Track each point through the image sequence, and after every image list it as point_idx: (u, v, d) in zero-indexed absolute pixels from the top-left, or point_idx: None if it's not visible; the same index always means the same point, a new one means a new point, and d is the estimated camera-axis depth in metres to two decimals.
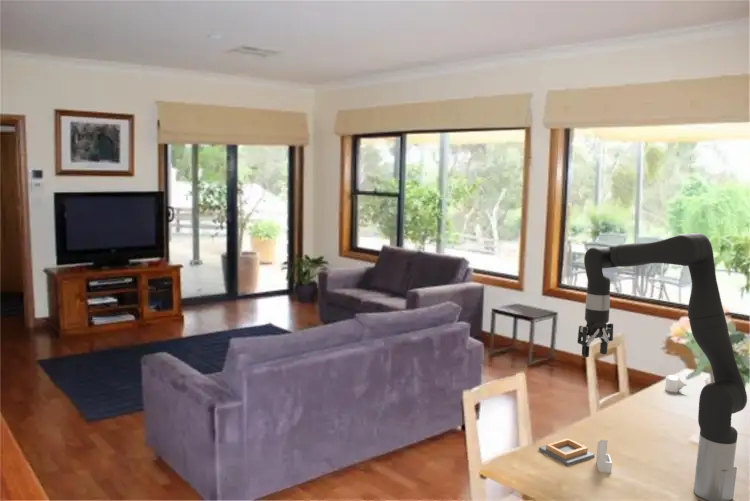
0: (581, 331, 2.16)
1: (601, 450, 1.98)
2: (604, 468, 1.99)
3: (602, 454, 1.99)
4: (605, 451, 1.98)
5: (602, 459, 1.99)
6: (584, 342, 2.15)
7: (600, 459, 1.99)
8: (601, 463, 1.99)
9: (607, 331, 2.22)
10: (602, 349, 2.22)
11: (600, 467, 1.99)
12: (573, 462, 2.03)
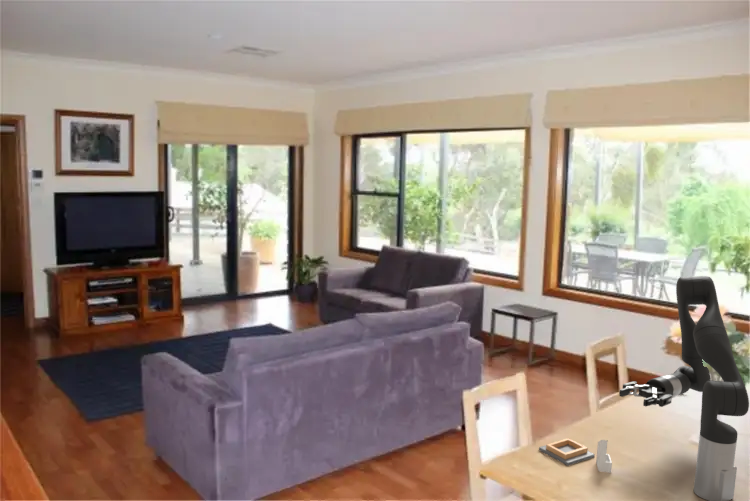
0: None
1: (601, 450, 1.98)
2: (604, 468, 1.99)
3: (602, 454, 1.99)
4: (605, 451, 1.98)
5: (602, 459, 1.99)
6: (625, 384, 2.12)
7: (600, 459, 1.99)
8: (601, 463, 1.99)
9: None
10: None
11: (600, 467, 1.99)
12: (573, 462, 2.03)
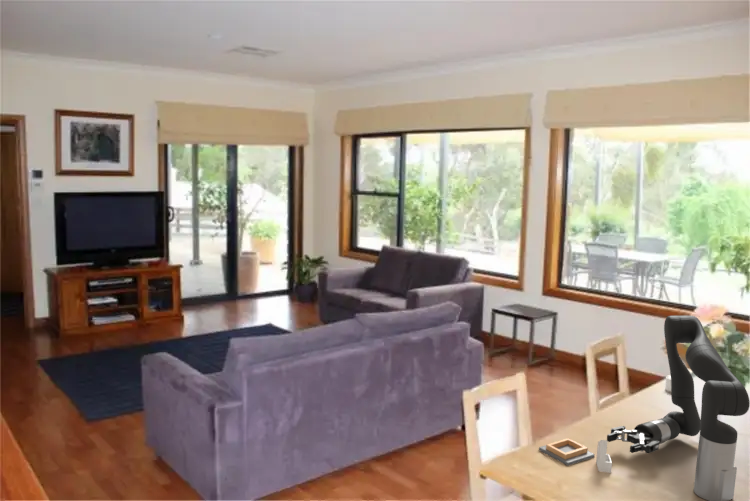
0: None
1: (601, 450, 1.98)
2: (604, 468, 1.99)
3: (602, 454, 1.99)
4: (605, 451, 1.98)
5: (602, 459, 1.99)
6: (613, 428, 2.13)
7: (600, 459, 1.99)
8: (601, 463, 1.99)
9: None
10: None
11: (600, 467, 1.99)
12: (573, 462, 2.03)
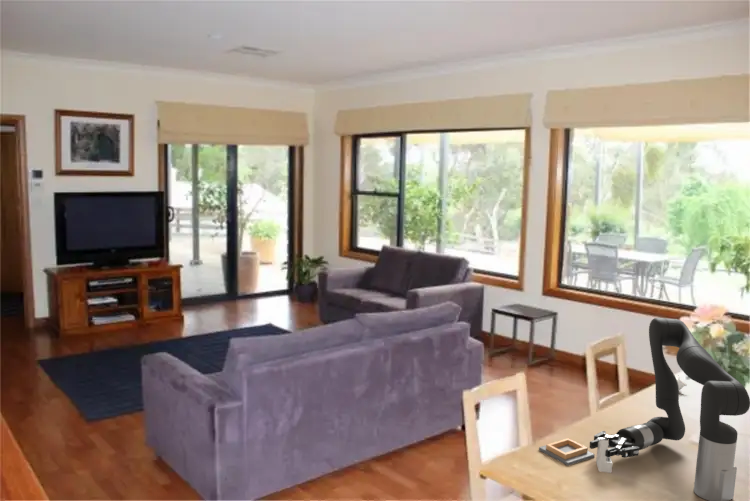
0: None
1: (602, 450, 1.98)
2: (604, 468, 1.99)
3: (603, 454, 1.98)
4: None
5: (603, 459, 1.98)
6: (596, 435, 2.07)
7: (601, 459, 1.99)
8: (601, 463, 1.99)
9: None
10: None
11: (600, 467, 1.99)
12: (573, 462, 2.03)
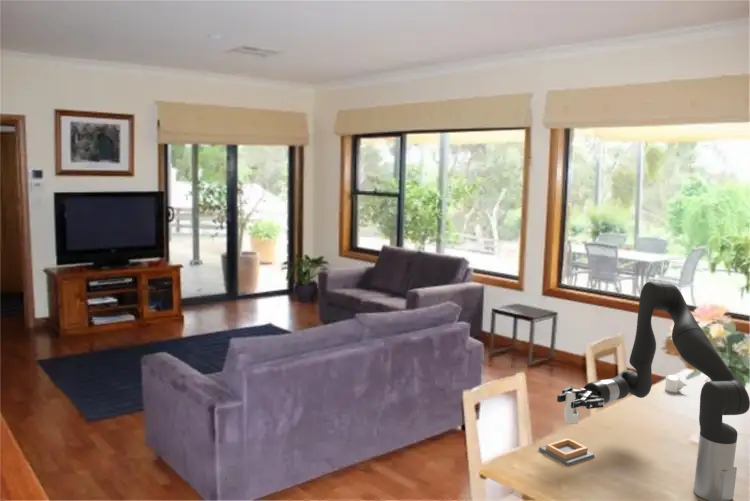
0: None
1: (569, 403, 2.04)
2: (571, 420, 2.05)
3: (570, 407, 2.04)
4: None
5: (569, 411, 2.05)
6: (564, 390, 2.13)
7: (568, 411, 2.05)
8: (568, 415, 2.05)
9: None
10: None
11: (568, 419, 2.05)
12: (573, 462, 2.03)
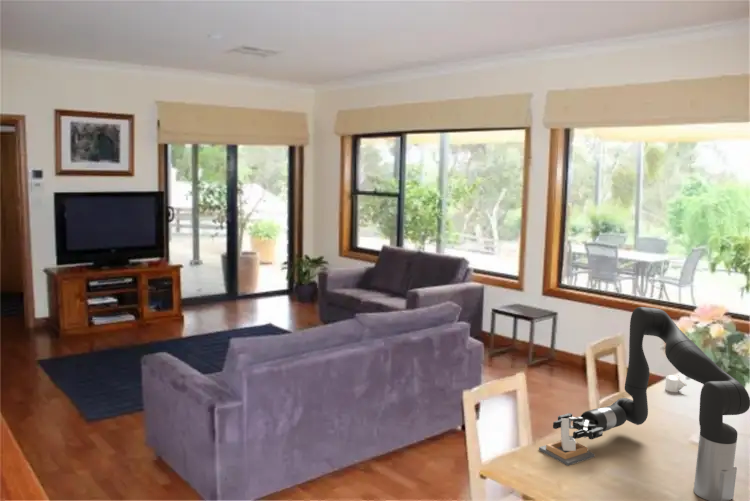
0: None
1: (564, 429, 2.07)
2: (569, 447, 2.07)
3: (565, 433, 2.07)
4: (567, 429, 2.07)
5: (566, 438, 2.07)
6: (560, 416, 2.16)
7: (564, 438, 2.07)
8: (565, 442, 2.07)
9: None
10: None
11: (565, 446, 2.07)
12: (573, 462, 2.03)
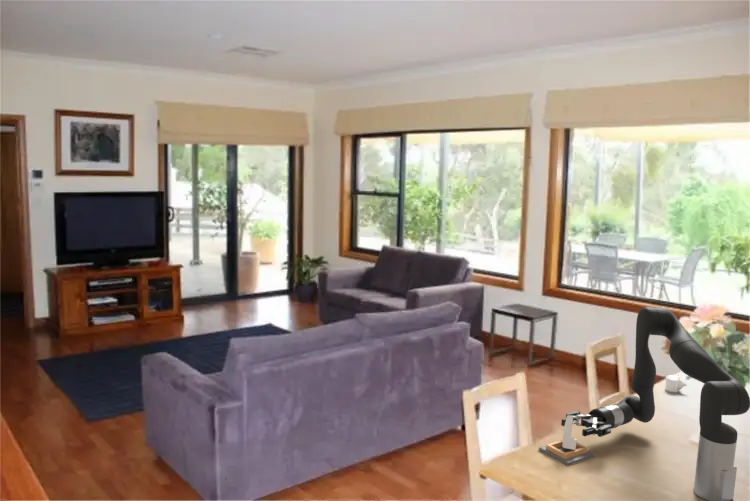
0: None
1: (567, 426, 2.08)
2: (569, 445, 2.07)
3: (567, 430, 2.08)
4: (570, 427, 2.08)
5: (567, 435, 2.08)
6: (568, 413, 2.18)
7: (565, 435, 2.08)
8: (566, 439, 2.08)
9: None
10: None
11: (565, 443, 2.07)
12: (573, 462, 2.03)
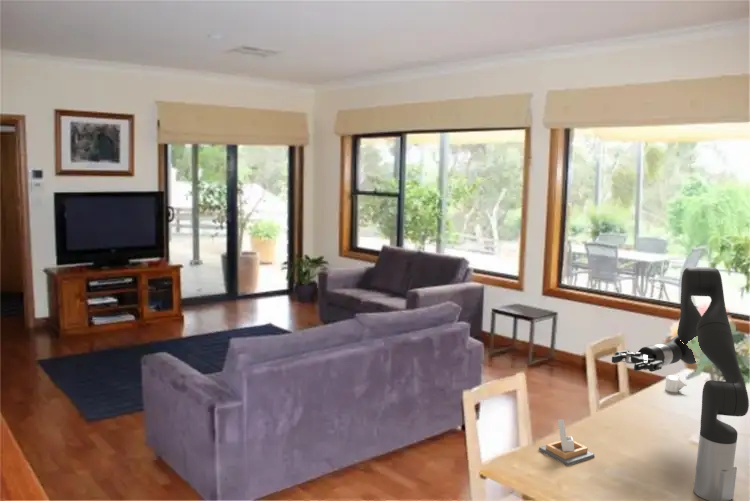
0: None
1: (560, 430, 2.08)
2: (567, 447, 2.07)
3: (562, 433, 2.07)
4: (564, 430, 2.07)
5: (563, 439, 2.07)
6: (618, 352, 2.21)
7: (561, 439, 2.07)
8: (563, 443, 2.07)
9: None
10: None
11: (563, 447, 2.07)
12: (573, 462, 2.03)
